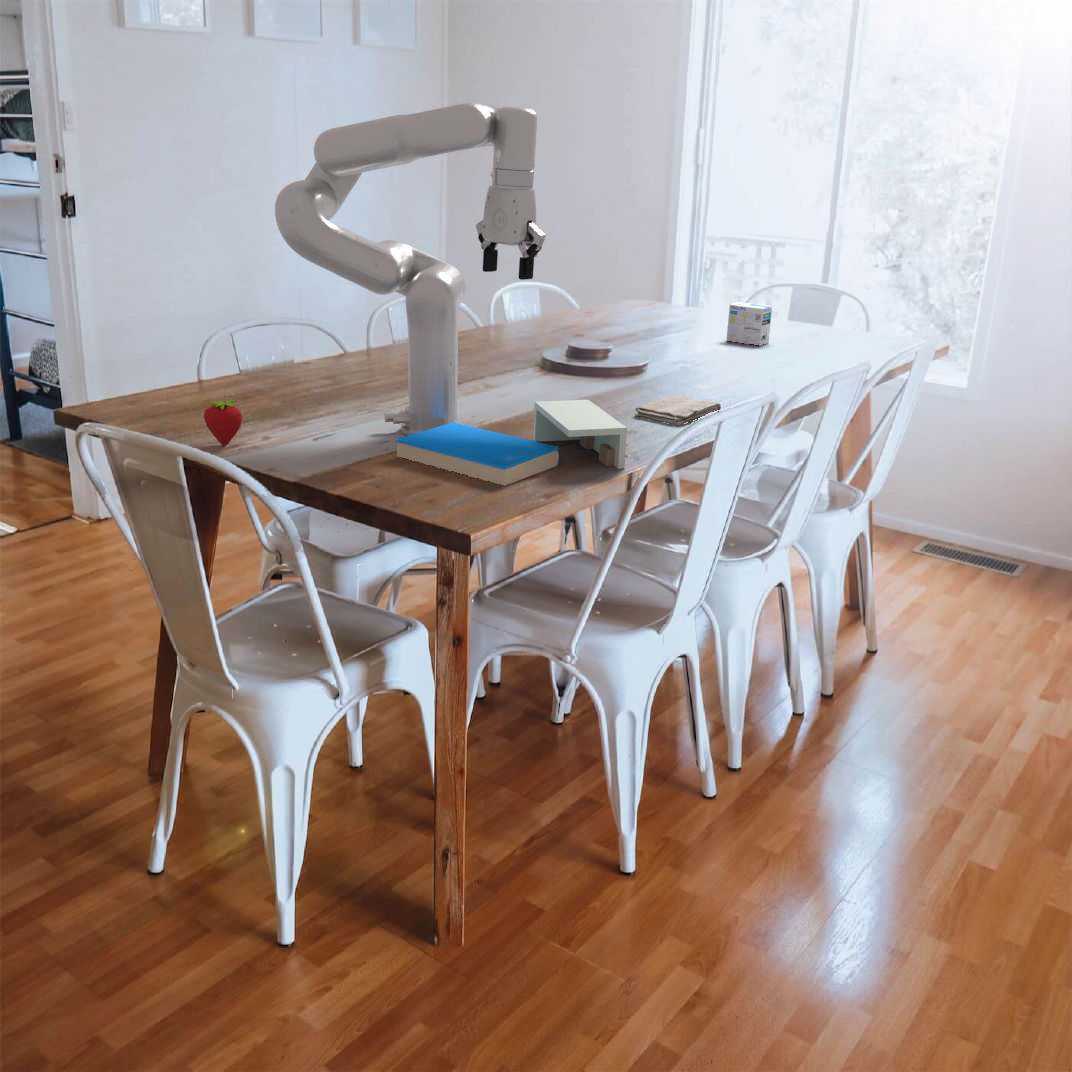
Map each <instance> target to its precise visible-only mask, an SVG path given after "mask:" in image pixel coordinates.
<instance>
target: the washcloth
mask: <svg viewBox="0 0 1072 1072" xmlns="http://www.w3.org/2000/svg"><path fill="white" fill-rule="evenodd" d="M721 405H722V404H720V403H718V402H715V401H710V400H700V399H694V398H689V397H686V396H681V395H673V396H669V397H666V398H662V399H661V398H660V399H658V400H654V401H651V402H649V403H646V404H642V405H639V406H637V407H635V412H637V413H636V414H634V417H637V416H638V417H637V418H640V419H643V420H647V419H650V420H649V421H651V420H653V421H652V422H656V421H658V422H657V423H661V422H665V423H669V424H668V425H670V424H673V425H672V426H676V425H678V426H684V425H687V424H690V423H689V422H691V423H694V422H693V420H695V419H698V418H700V417H702V416H705V415H706V414H708V413H710V412H714V411H717V410H720V411H721V408H722V407H721ZM686 422H688V423H687V424H684V423H686ZM665 423H664V424H665Z"/></svg>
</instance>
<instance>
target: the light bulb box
mask: <svg viewBox="0 0 1072 1072" xmlns="http://www.w3.org/2000/svg"><path fill="white" fill-rule="evenodd" d="M728 309H729V311H728V319H727V332H726V342H727V341H732V342H731V343H735V342H738V343H737V344H742V343H744V344H743V345H749V344H754V345H753V346H756V345H759V346H758V347H761V346H764V345H766V344H769V343H770V333H771V332H770V331H771V323H772V321H771V320H772V313H773V311H772V310H773V306H772V305H765V304H757V303H756V304H755V303H746V302H742V301H738V302H734V303H731V304H729V308H728ZM763 344H764V345H763Z"/></svg>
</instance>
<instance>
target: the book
mask: <svg viewBox="0 0 1072 1072" xmlns="http://www.w3.org/2000/svg"><path fill="white" fill-rule="evenodd" d="M395 442H396V443H397V444H396V449H397V451H396V455H397V456H399V457H402V458H407V459H409V460H408V461H410V460H412V461H411V462H413V461H418V462H421V463H424V464H423V465H425V464H426V465H425V466H428V465H432V466H435V467H434V468H436V467H437V469H440V468H442V469H441V470H443V469H445V470H444V471H447V470H448V471H447V472H451V471H454V472H453V473H455V472H457V473H456V474H458V473H460V474H459V475H462V474H465V475H464V476H466V475H468V476H467V477H470V478H474V479H477V478H479V479H478V480H481V479H482V480H481V481H485V482H488V481H490V482H489V483H492V482H493V484H497V485H500V484H501V485H500V486H503V485H504V486H508V485H511V484H512V483H516V482H518V481H520V480H523V479H527V478H528V477H531V476H533V475H536V474H539V473H541V472H544V471H547V470H549V469H552V468H554V467H557V466H559V463H560V459H561V453H560V449H559V446H555V445H552V444H551V445H550V444H547V443H543V442H535V441H534V440H530V439H526V438H522V437H517V436H512V435H509V434H505V433H500V432H496V431H491V430H488V429H483V428H480V427H475V426H472V425H466V424H463V423H462V424H459V423H454V422H452V423H449V424H446V425H442V426H439V427H436V428H432V429H429V430H425V431H422V432H419V433H415V434H412V435H409V436H408V435H405V436H402V437H398V438H396V439H395ZM397 456H396V457H397ZM402 458H401V459H402ZM421 463H420V464H421ZM432 466H431V467H432ZM507 484H508V485H507Z"/></svg>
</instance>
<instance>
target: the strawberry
mask: <svg viewBox="0 0 1072 1072" xmlns="http://www.w3.org/2000/svg"><path fill="white" fill-rule="evenodd" d="M226 393H227V392H226V391H225V392H224V397H223V399H225V397H226ZM236 402H237V400H226V402H225V401H220V400H218V401H209V403H211V404H209V406H207V408H206V409H205V410H204V414H203V418H204V419H203V420H204V423H205V424H206V428H208V430H209V431H210V433H211V434H212V435H213V437H214V438H215V439H216V440H217V441H218V443H219V444H220V445H221V446H223V445H226V446H228V445H229V444H230V442H231V441H232V440H233V438H234V437H236V435H237V433H238V432H239V430H240V428H241V426H242V423H243V416H242V412H241V410H239V409H238V408H237V407H238V406H239V405H238V404H235V403H236Z"/></svg>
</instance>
